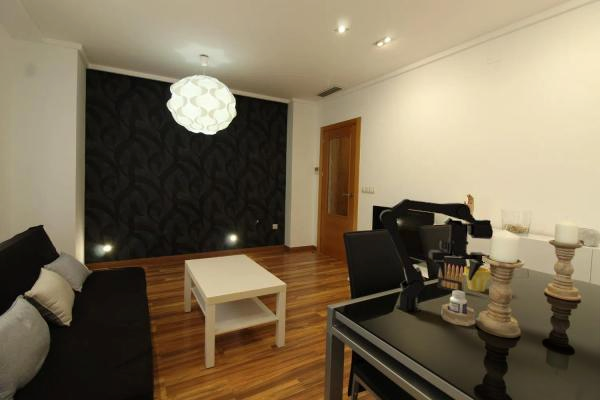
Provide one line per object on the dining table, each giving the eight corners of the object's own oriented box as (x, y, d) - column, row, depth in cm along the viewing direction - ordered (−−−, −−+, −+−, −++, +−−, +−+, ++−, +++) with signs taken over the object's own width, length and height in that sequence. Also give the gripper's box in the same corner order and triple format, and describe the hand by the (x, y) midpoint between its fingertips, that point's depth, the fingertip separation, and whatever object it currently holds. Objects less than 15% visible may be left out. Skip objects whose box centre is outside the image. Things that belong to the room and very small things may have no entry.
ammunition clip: (463, 292, 134) (464, 266, 133) (462, 293, 132) (463, 267, 132) (438, 286, 141) (439, 261, 141) (437, 287, 140) (438, 262, 139)
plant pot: (458, 287, 141) (459, 266, 141) (472, 284, 145) (473, 264, 145) (479, 294, 132) (480, 272, 131) (494, 291, 136) (495, 270, 136)
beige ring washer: (463, 327, 100) (463, 317, 100) (436, 316, 108) (436, 306, 108) (479, 321, 105) (480, 311, 105) (453, 311, 113) (453, 301, 113)
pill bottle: (462, 316, 109) (463, 289, 108) (468, 323, 104) (470, 295, 103) (446, 315, 109) (447, 289, 109) (452, 321, 104) (453, 294, 104)
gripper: (476, 235, 116) (474, 274, 116) (425, 232, 119) (424, 271, 119) (490, 240, 105) (487, 284, 105) (433, 237, 108) (431, 280, 108)
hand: (456, 279), depth 110 cm, fingers open, 9 cm apart
